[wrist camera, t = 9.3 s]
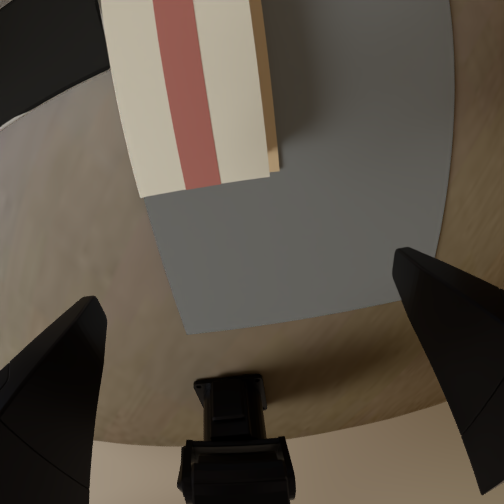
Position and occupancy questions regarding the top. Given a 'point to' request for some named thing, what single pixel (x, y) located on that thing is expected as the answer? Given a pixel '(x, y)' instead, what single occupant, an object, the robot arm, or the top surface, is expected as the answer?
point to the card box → (187, 91)
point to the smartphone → (47, 52)
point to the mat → (322, 168)
